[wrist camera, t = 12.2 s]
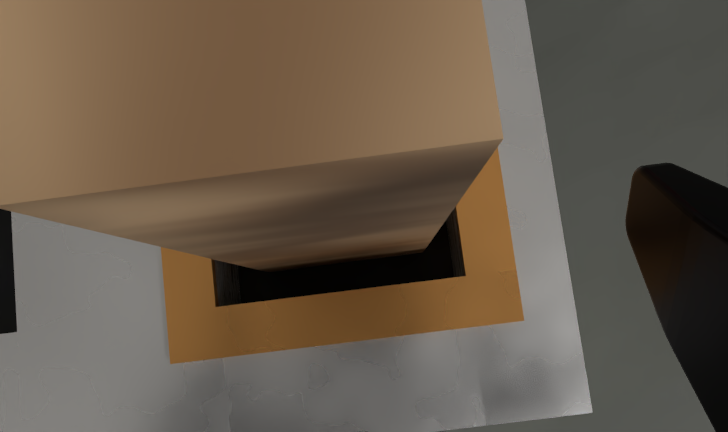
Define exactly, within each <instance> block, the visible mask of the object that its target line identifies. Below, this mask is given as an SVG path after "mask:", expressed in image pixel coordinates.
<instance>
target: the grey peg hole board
mask: <svg viewBox="0 0 728 432" xmlns="http://www.w3.org/2000/svg"><path fill="white" fill-rule="evenodd" d="M482 6H483V12H484V19H485V25H486V31H487V38H488V44H489V50H490V56H491V63H492V69H493V75H494V82H495V88H496V94H497V100H498V107H499V113H500V119H501V126H502V132H503V138H504V139H503V140H502V142H501V143H500V144H499V146H498V147H497V149H496V150H495V151H494V153H493V154H492V156H491V157H490V158H489V160H488V161H487V163H486V164H485V166H484V167H483V168H482V170H481V171H480V173H479V174H478V175H477V177H476V178H475V180H474V181H473V182H472V184H471V185H470V187H469V188H468V190H467V191H466V192H465V194H464V195H463V197H462V198H461V199H460V201H459V202H458V204H457V205H456V207H455V208H454V209H453V211H452V212H451V214H450V215H449V216H448V218H447V219H446V225H447V232H448V239H449V247H450V254H451V261H452V268H453V275H454V277H453V278H445V279H437V280H429V281H421V282H413V283H405V284H397V285H389V286H381V287H373V288H365V289H357V290H349V291H341V292H333V293H325V294H317V295H308V296H300V297H292V298H284V299H276V300H268V301H260V302H252V303H244V304H242V303H241V293H240V282H239V272H238V265H235V264H231V263H227V262H222V261H218V260H214V259H210V258H206V257H201V256H197V255H193V254H189V253H185V252H180V251H176V250H172V249H168V248H163V247H159V246H155V245H151V244H147V243H142V242H138V241H134V240H130V239H126V238H121V237H117V236H113V235H109V234H104V233H100V232H96V231H92V230H88V229H83V228H79V227H75V226H71V225H66V224H62V223H58V222H54V221H50V220H45V219H41V218H37V217H33V216H29V215H24V214H20V213H16V212H12V211H11V220H12V240H13V260H14V280H15V299H16V319H17V332H13V333H5V334H0V432H435V431H443V430H451V429H460V428H468V427H477V426H485V425H493V424H502V423H510V422H518V421H527V420H535V419H544V418H552V417H560V416H569V415H577V414H586V413H593V412H592V406H591V400H590V394H589V388H588V382H587V376H586V370H585V364H584V358H583V352H582V345H581V339H580V333H579V327H578V321H577V315H576V309H575V303H574V297H573V291H572V285H571V279H570V273H569V266H568V260H567V254H566V248H565V242H564V236H563V230H562V224H561V218H560V212H559V206H558V200H557V194H556V187H555V181H554V175H553V169H552V163H551V157H550V151H549V145H548V139H547V133H546V127H545V121H544V115H543V108H542V102H541V96H540V90H539V84H538V78H537V72H536V66H535V60H534V54H533V48H532V42H531V36H530V29H529V23H528V17H527V11H526V5H525V0H482Z"/></svg>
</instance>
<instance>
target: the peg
mask: <svg viewBox="0 0 728 432" xmlns="http://www.w3.org/2000/svg"><path fill="white" fill-rule="evenodd" d="M503 139H504V138H503V132H502V126H501V119H500V113H499V107H498V100H497V94H496V88H495V82H494V75H493V69H492V63H491V56H490V50H489V44H488V38H487V31H486V25H485V19H484V12H483V6H482V0H0V209H3V210H7V211H12V212H16V213H20V214H24V215H29V216H33V217H37V218H41V219H45V220H50V221H54V222H58V223H62V224H66V225H71V226H75V227H79V228H83V229H88V230H92V231H96V232H100V233H104V234H109V235H113V236H117V237H121V238H126V239H130V240H134V241H138V242H142V243H147V244H151V245H155V246H159V247H163V248H168V249H172V250H176V251H180V252H185V253H189V254H193V255H197V256H201V257H206V258H210V259H214V260H218V261H222V262H227V263H231V264H235V265H239V266H244V267H248V268H252V269H256V270H260V271H265V272H275V271H283V270H291V269H299V268H307V267H314V266H322V265H330V264H338V263H345V262H353V261H361V260H369V259H376V258H384V257H392V256H400V255H407V254H415V253H423V252H424V250H425V249H426V247H427V246H428V245H429V243H430V242H431V240H432V239H433V238H434V236H435V235H436V233H437V232H438V231H439V229H440V228H441V226H442V225H443V223H444V222H445V221H446V219H447V218H448V216H449V215H450V214H451V212H452V211H453V209H454V208H455V207H456V205H457V204H458V202H459V201H460V199H461V198H462V197H463V195H464V194H465V192H466V191H467V190H468V188H469V187H470V185H471V184H472V182H473V181H474V180H475V178H476V177H477V175H478V174H479V173H480V171H481V170H482V168H483V167H484V166H485V164H486V163H487V161H488V160H489V158H490V157H491V156H492V154H493V153H494V151H495V150H496V149H497V147H498V146H499V144H500V143H501V142H502V140H503Z"/></svg>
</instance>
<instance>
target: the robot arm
mask: <svg viewBox="0 0 728 432" xmlns="http://www.w3.org/2000/svg"><path fill="white" fill-rule="evenodd" d="M626 231H627V235H628V238H629V241H630V244H631V246H632V249H633V251H634V254H635V257H636V259H637V262H638V265H639V267H640V270H641V273H642V275H643V278H644V281H645V283H646V286H647V289H648V291H649V294H650V297H651V299H652V302H653V305H654V307H655V310H656V313H657V315H658V318H659V320H660V323H661V325H662V328H663V330H664V332H665V335H666V337H667V339H668V341H669V343H670V345H671V347H672V349H673V351H674V353H675V355H676V357H677V359H678V361H679V362H680V364H681V366H682V368H683V370H684V372H685V374H686V376H687V378H688V380H689V382H690V383H691V385H692V387H693V389H694V391H695V393H696V395H697V397H698V399H699V401H700V403H701V404H702V406H703V408H704V410H705V412H706V414H707V416H708V418H709V420H710V422H711V424H712V425H713V427H714V429H715V431H716V432H728V188H727V187H725V186H722V185H720V184H718V183H716V182H713V181H711V180H709V179H706V178H704V177H702V176H700V175H697V174H695V173H693V172H690V171H688V170H686V169H684V168H681V167H679V166H677V165H674V164H672V163H661V164H653V165H645V166H640V167H639V168H637V169H636V170H635V172H634V174H633V177H632V182H631V188H630V194H629V201H628V207H627V213H626Z"/></svg>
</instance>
